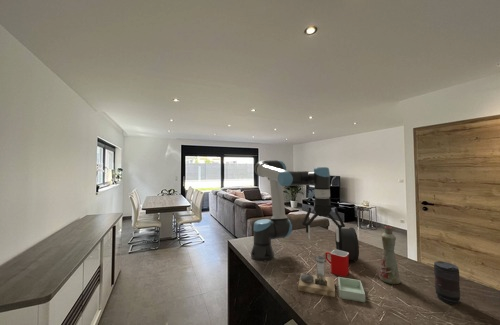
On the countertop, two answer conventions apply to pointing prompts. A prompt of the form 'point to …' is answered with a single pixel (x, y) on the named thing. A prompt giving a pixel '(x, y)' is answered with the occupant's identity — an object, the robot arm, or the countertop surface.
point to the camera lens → (447, 282)
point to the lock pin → (320, 270)
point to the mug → (339, 262)
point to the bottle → (389, 258)
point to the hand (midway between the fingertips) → (323, 240)
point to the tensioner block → (310, 285)
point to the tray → (351, 289)
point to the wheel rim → (348, 243)
